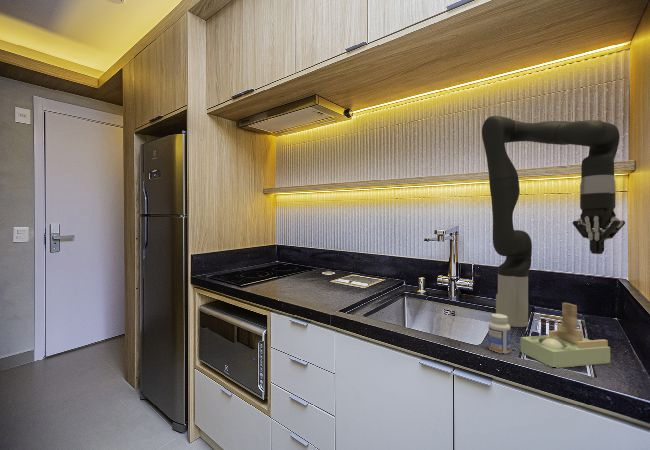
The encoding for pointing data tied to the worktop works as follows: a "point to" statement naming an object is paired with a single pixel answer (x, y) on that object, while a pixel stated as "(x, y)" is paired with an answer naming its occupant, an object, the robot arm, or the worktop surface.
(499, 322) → the pill bottle
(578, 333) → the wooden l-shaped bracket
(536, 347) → the green tray
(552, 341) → the ball
